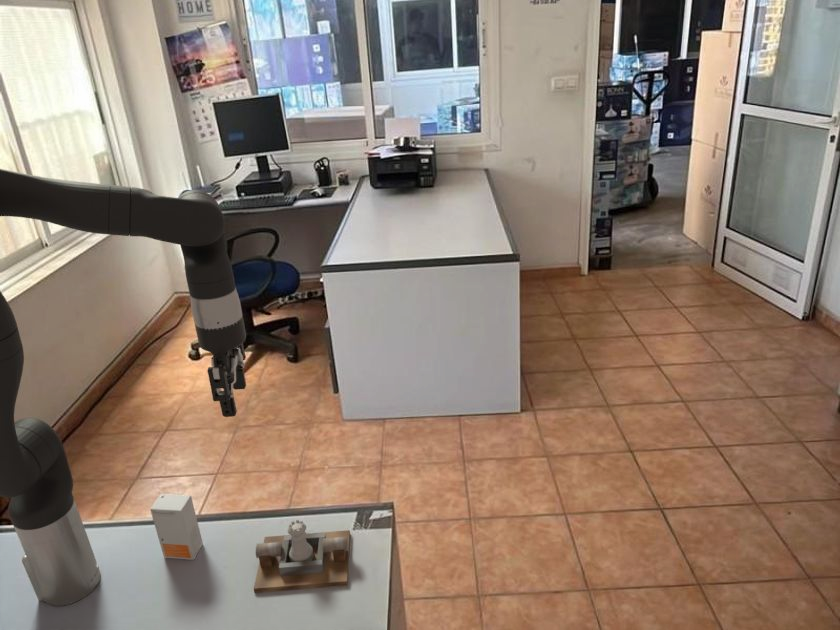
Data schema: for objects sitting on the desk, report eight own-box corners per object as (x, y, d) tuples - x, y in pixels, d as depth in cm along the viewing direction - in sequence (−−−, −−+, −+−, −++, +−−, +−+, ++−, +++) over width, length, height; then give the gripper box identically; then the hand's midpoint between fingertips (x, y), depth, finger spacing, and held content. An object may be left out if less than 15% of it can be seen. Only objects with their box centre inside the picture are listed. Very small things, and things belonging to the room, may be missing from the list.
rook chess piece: (318, 560, 115) (313, 526, 112) (295, 572, 113) (289, 538, 110) (307, 545, 119) (302, 512, 115) (285, 556, 117) (279, 522, 113)
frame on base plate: (254, 592, 111) (250, 572, 109) (265, 540, 122) (261, 521, 120) (347, 585, 111) (344, 565, 109) (350, 534, 122) (347, 514, 120)
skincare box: (163, 559, 119) (148, 509, 114) (174, 541, 123) (160, 492, 117) (194, 561, 118) (180, 511, 113) (204, 543, 122) (191, 494, 117)
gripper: (232, 335, 97) (249, 424, 104) (249, 297, 110) (263, 378, 117) (182, 338, 97) (203, 427, 104) (205, 300, 110) (222, 381, 117)
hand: (235, 401), depth 110 cm, fingers open, 8 cm apart
